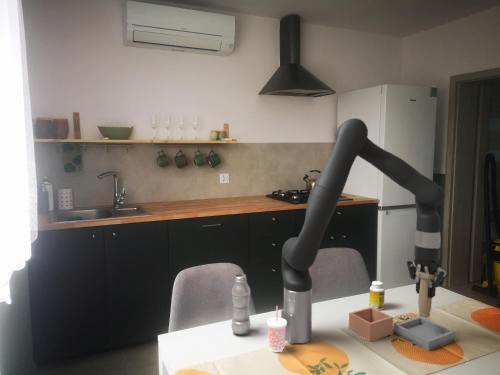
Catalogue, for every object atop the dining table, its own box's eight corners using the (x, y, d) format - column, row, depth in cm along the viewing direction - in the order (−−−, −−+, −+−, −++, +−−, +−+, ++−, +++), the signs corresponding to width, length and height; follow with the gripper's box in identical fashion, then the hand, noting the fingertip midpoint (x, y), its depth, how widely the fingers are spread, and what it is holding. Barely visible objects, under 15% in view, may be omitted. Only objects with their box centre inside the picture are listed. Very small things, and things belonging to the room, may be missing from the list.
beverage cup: (274, 342, 120) (274, 300, 119) (290, 348, 116) (290, 305, 115) (263, 349, 115) (263, 306, 114) (279, 356, 111) (279, 312, 110)
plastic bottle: (227, 334, 125) (227, 277, 123) (237, 326, 131) (237, 271, 129) (244, 338, 122) (244, 280, 120) (254, 330, 128) (253, 274, 126)
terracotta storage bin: (369, 342, 120) (370, 324, 119) (348, 329, 128) (349, 312, 128) (392, 334, 125) (393, 317, 124) (370, 322, 133) (371, 306, 132)
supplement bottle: (379, 312, 142) (380, 286, 141) (366, 307, 146) (367, 282, 145) (386, 307, 146) (387, 282, 145) (373, 303, 150) (374, 279, 149)
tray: (428, 351, 114) (428, 341, 114) (394, 333, 125) (394, 324, 125) (454, 340, 120) (455, 332, 120) (419, 324, 132) (419, 316, 131)
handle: (424, 311, 126) (425, 268, 124) (437, 319, 120) (439, 274, 118) (411, 312, 125) (413, 269, 123) (424, 321, 119) (426, 275, 117)
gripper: (401, 241, 124) (399, 290, 126) (440, 251, 112) (437, 305, 114) (416, 238, 128) (414, 286, 129) (455, 247, 115) (452, 300, 117)
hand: (425, 295), depth 121 cm, fingers closed on handle, 3 cm apart
